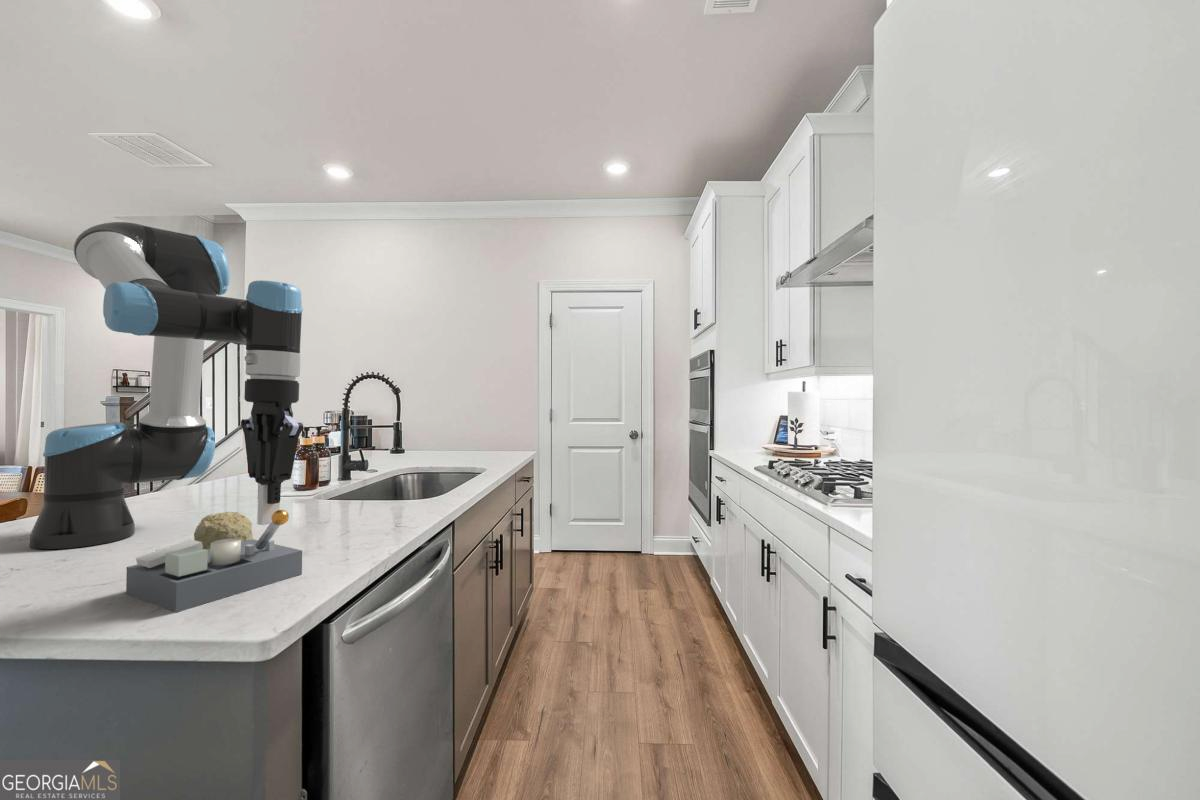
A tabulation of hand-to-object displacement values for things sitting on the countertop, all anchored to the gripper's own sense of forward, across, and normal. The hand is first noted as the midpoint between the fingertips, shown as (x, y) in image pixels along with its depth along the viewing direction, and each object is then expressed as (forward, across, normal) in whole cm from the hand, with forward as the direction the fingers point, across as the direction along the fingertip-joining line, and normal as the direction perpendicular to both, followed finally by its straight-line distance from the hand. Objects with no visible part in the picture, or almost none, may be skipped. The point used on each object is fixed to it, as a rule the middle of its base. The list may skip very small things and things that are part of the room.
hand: (268, 522), depth 85 cm
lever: (+4, -2, 0) cm, 5 cm away
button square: (+5, -1, -11) cm, 12 cm away
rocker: (+4, -8, -10) cm, 13 cm away
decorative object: (+10, -20, +4) cm, 23 cm away
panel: (+9, -4, -5) cm, 11 cm away
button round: (+5, -1, -6) cm, 8 cm away
